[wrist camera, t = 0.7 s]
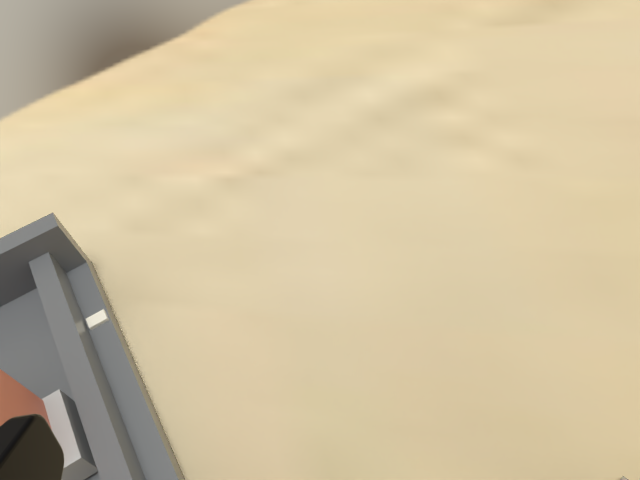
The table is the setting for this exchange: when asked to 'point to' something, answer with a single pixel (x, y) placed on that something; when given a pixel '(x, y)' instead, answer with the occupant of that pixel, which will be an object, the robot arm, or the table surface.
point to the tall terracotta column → (51, 423)
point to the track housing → (77, 351)
